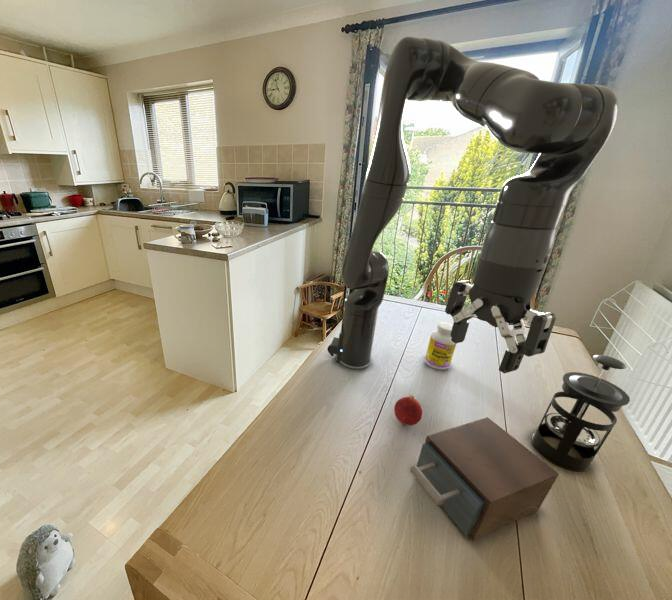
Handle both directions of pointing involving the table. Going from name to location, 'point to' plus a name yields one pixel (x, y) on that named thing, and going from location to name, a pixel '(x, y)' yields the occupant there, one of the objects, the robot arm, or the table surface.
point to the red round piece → (408, 410)
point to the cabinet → (495, 472)
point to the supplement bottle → (440, 347)
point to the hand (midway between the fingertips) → (479, 355)
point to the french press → (580, 417)
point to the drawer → (448, 488)
